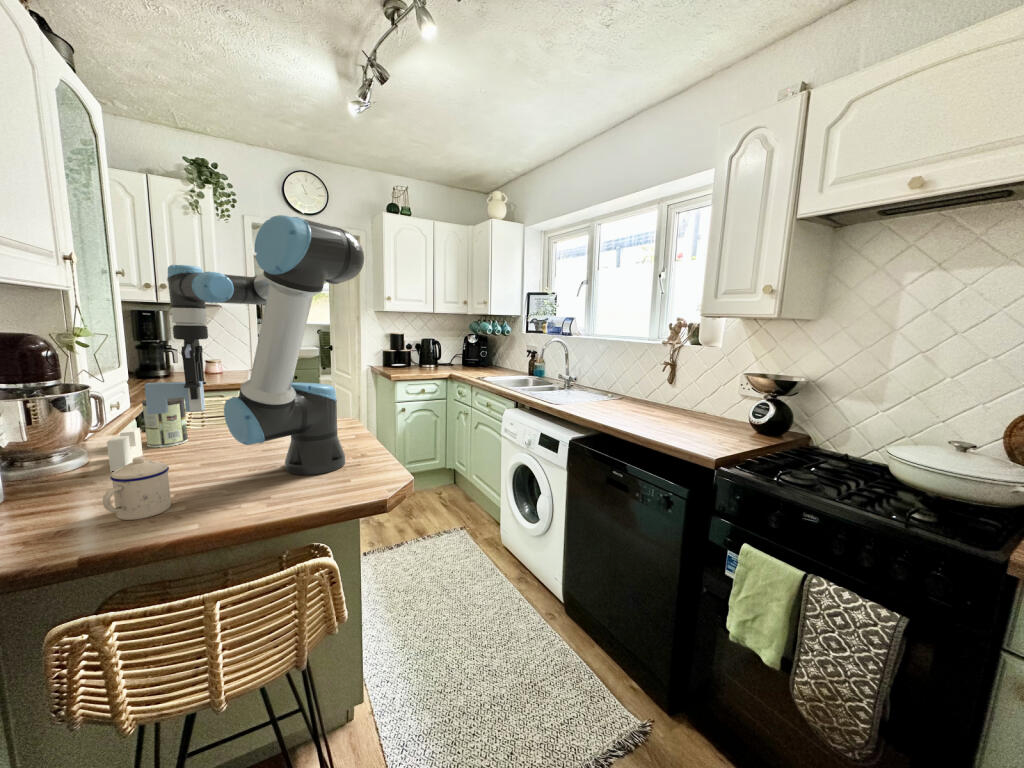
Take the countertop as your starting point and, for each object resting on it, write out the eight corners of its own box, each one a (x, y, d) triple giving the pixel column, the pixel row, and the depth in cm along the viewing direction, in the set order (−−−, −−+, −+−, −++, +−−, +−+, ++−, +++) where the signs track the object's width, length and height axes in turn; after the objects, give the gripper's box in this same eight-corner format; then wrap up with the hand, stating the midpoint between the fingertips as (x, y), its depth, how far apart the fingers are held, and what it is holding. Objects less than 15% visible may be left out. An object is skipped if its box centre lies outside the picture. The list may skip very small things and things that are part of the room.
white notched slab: (125, 470, 110) (122, 440, 109) (110, 471, 109) (106, 441, 107) (142, 454, 122) (139, 427, 121) (129, 455, 121) (126, 428, 120)
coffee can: (167, 437, 139) (163, 395, 137) (196, 439, 138) (192, 397, 136) (137, 446, 129) (132, 401, 127) (168, 448, 128) (163, 403, 126)
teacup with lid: (145, 500, 93) (140, 449, 91) (183, 503, 92) (178, 451, 90) (86, 526, 81) (78, 468, 79) (129, 530, 80) (122, 471, 78)
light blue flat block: (202, 411, 117) (200, 382, 116) (147, 414, 112) (144, 384, 110) (204, 409, 120) (202, 381, 118) (150, 412, 114) (147, 382, 113)
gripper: (179, 323, 119) (187, 404, 123) (164, 325, 105) (173, 416, 109) (212, 324, 123) (218, 403, 126) (201, 325, 109) (208, 414, 112)
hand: (197, 409), depth 118 cm, fingers closed on light blue flat block, 3 cm apart
